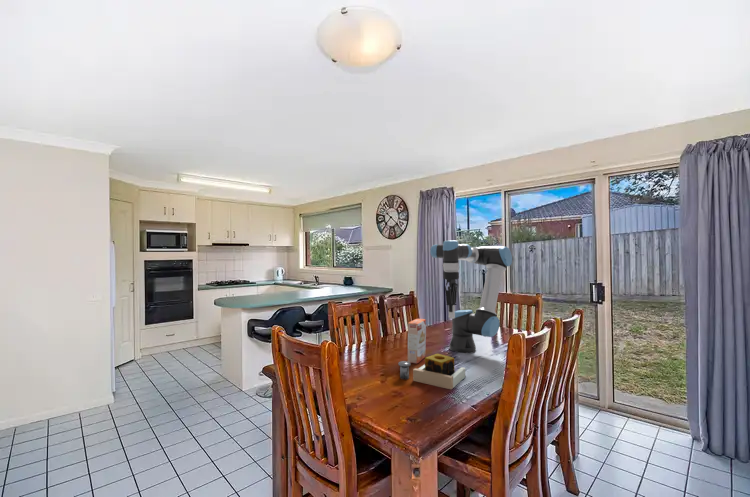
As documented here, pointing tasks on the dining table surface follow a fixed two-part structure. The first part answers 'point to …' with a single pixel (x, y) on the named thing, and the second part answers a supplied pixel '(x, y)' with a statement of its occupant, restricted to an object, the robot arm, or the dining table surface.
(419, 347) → the cracker box
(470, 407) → the dining table surface
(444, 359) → the candle
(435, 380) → the bay
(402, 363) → the mushroom drawer knob
